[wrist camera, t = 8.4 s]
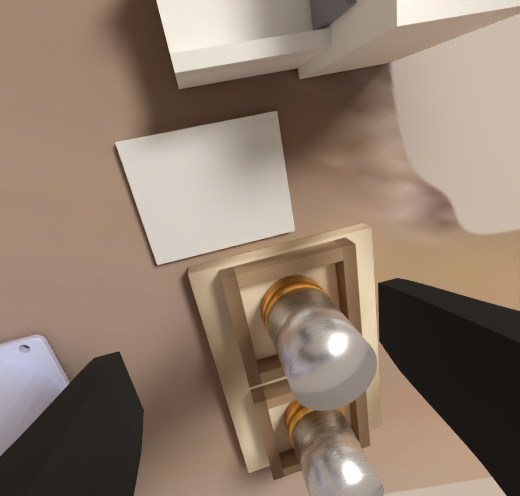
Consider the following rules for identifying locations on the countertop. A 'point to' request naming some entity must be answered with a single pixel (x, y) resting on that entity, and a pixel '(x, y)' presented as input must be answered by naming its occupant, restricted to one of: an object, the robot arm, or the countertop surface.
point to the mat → (209, 185)
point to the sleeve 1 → (316, 344)
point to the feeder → (310, 33)
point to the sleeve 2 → (330, 453)
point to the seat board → (261, 346)
